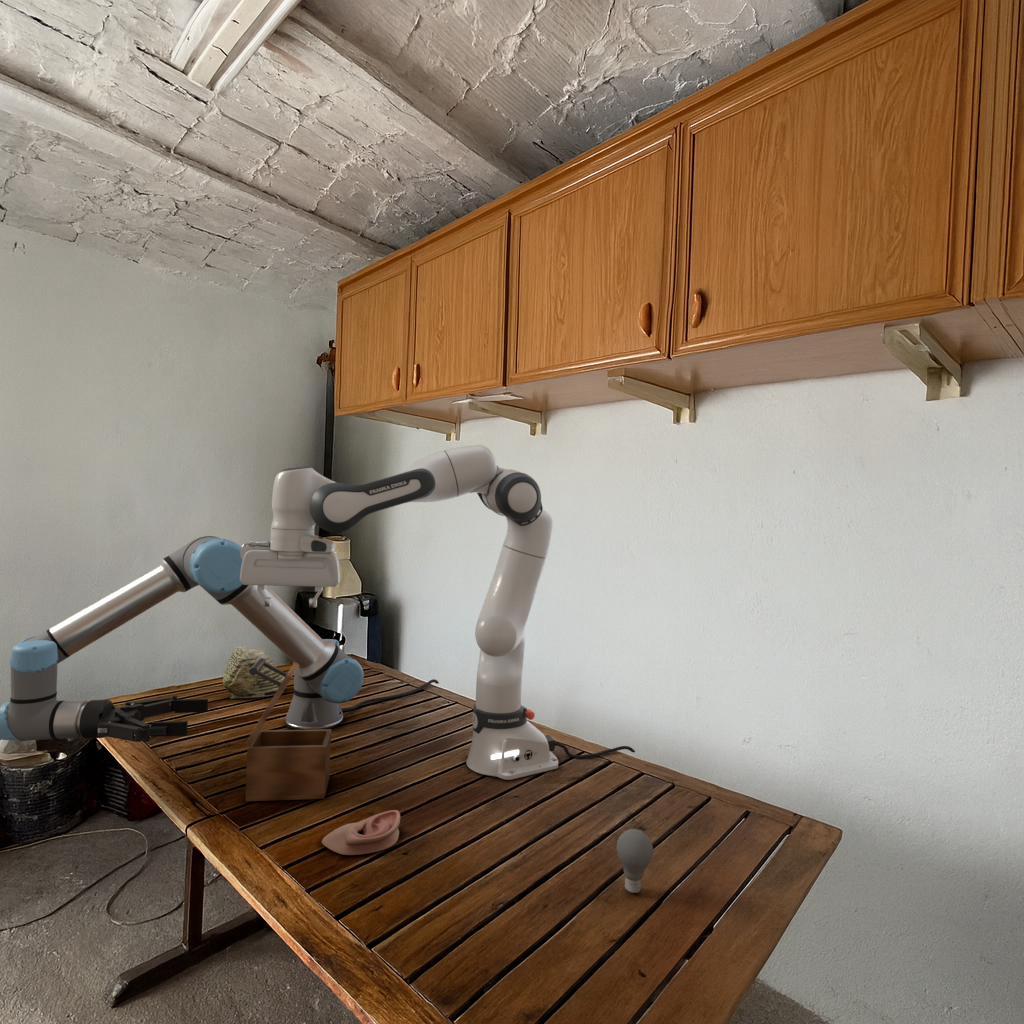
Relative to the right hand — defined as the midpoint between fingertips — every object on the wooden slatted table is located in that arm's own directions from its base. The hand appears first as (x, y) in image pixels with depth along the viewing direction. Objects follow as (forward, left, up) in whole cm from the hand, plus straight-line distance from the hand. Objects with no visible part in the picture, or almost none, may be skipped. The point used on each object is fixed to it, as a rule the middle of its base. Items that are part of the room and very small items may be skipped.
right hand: (289, 606), depth 136 cm
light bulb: (-53, +54, -40) cm, 86 cm away
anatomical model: (-13, +25, -40) cm, 49 cm away
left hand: (+17, -3, -23) cm, 29 cm away
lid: (+2, 0, -21) cm, 21 cm away
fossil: (+6, -69, -40) cm, 80 cm away
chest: (-1, 0, -40) cm, 40 cm away
